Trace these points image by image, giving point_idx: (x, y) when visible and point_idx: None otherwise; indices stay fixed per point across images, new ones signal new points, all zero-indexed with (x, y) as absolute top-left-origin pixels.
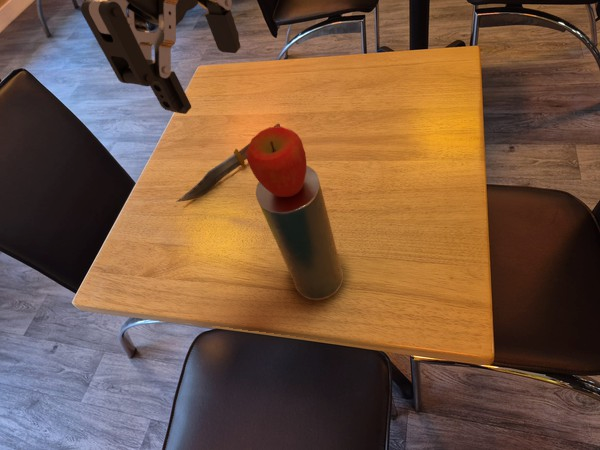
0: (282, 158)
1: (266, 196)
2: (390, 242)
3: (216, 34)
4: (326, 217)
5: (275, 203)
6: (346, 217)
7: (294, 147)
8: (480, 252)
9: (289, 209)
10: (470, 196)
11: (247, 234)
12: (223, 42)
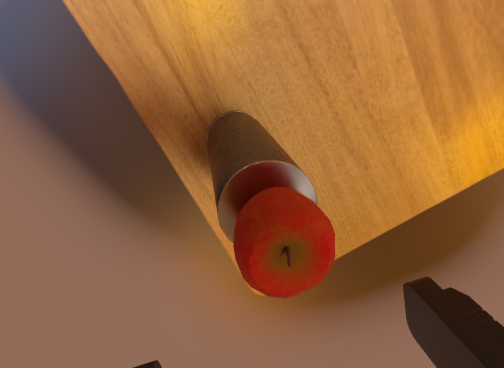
0: (271, 294)
1: (236, 195)
2: (316, 178)
3: (439, 330)
4: None
5: (233, 217)
6: (324, 114)
7: (301, 292)
8: (345, 250)
9: None
10: (405, 211)
11: (233, 5)
12: (423, 324)
